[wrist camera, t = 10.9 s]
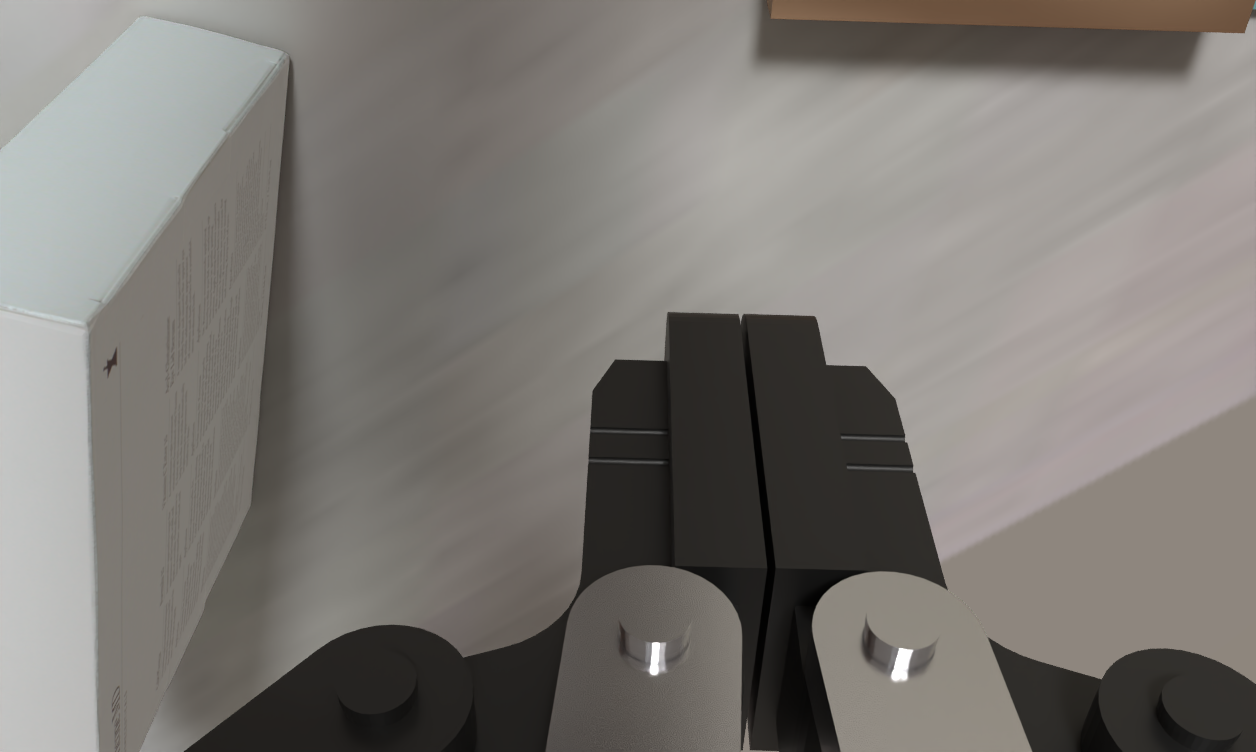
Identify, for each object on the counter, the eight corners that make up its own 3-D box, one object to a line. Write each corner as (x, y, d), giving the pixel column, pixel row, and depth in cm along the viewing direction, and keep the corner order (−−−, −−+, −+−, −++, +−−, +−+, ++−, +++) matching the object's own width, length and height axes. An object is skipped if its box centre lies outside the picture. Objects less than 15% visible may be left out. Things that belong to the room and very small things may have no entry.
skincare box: (121, 4, 38) (-149, 268, 25) (294, 46, 38) (118, 324, 26) (121, 482, 50) (-60, 824, 37) (252, 507, 51) (119, 850, 38)
